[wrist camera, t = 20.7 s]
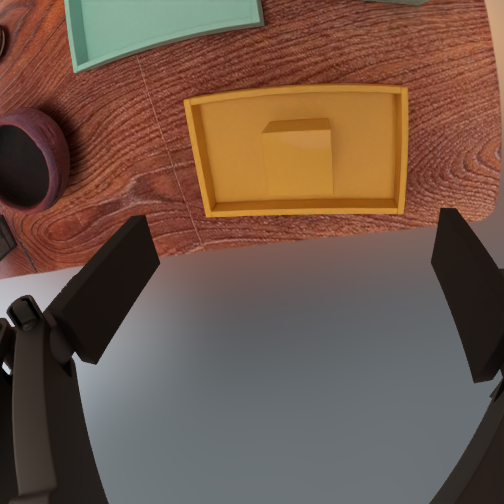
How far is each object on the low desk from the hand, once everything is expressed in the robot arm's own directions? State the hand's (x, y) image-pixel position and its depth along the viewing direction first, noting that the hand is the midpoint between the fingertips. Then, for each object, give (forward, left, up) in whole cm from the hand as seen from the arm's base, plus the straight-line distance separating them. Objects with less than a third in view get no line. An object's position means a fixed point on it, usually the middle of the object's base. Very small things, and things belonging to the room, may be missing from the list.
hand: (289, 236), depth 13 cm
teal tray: (+11, -16, -16) cm, 26 cm away
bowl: (+31, -3, -17) cm, 36 cm away
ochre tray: (0, 0, -16) cm, 16 cm away
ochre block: (0, 0, -16) cm, 16 cm away
